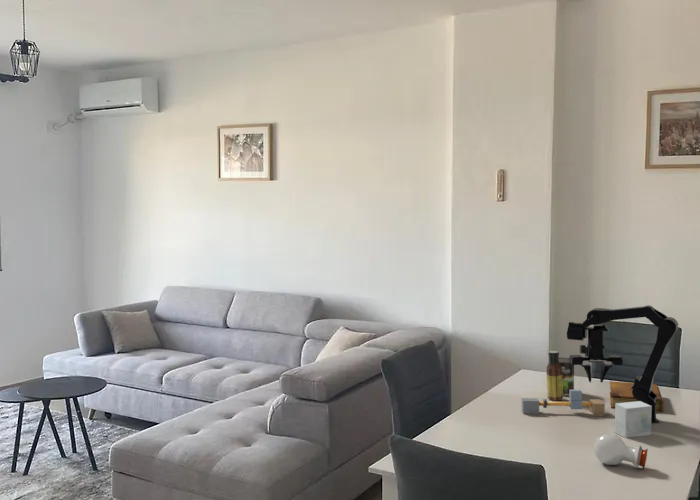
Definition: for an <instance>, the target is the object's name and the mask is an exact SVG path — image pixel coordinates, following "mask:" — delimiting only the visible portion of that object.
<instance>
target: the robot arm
mask: <svg viewBox="0 0 700 500" xmlns="http://www.w3.org/2000/svg"><path fill="white" fill-rule="evenodd" d="M639 318H646V319H647V320H648V321H650V322H651V323H652V324H653V325H654V326H656V327H657V335H656V342H655V344H654V346H653V349H652V351H651V353H650V356H649V358H648V361H647V363H646V365H645V368H644V370H643V373H642V375H641V376H640V375H638V374H637V376H636V377H635V379H634V381H633V383H634V385H633V386H632V387H631V389H633V390H632V394H633V396H634V398H635V399H637V401H641V402H643V403H646V404H648V405H650V406H652V415H651V423H660V420H659V419H658V418H657V412H656V403H655V402H656V400H657V398H658V396H657V395H656V394H655V393H654V392H653V391H652V386H653V384H654V378H655V374H656V373H657V370H658V368H659V365H660V363H661V361H662V358H663V356H664V353H665V351H666V348H667V346H668V343H669V342H670V340H671V339H672V338H673V336H674V335H675V333H676V331H677V330H678V329H679V322H678V320H677V319H676V318H674V317H671V316H668V315H666V314H664V313H663V312H661V311H659V310H657V309H656V308H654V307H653V305H650V304H649V305H645V306H644V305H643V306H633V307H625V308H615V309H611V308H606V307H605V308H600V307H595V308H593V309H591V310H589V311H588V313H586V318H585V320H584V321H583V322H574V321H568V326H567V330H566V338H567V340H571V341H572V340H573V341H581V342H582V341H585V339H587V345H586V344H580V345H579V353H580V354H581V355H580V354H570V355H569V356H568V358H569V362H570V363H571V364H572V365H574V366H581V367H583V368H584V371H585V374H586V376H587V379H588V382H589V383H592V370H591V369H592V367H591V365H590V363H600V376H599V377H600V379H599V380H600V384H601V383H603V382H604V379H605V378H606V375H607V373H608V371H609V370H610V368H613V365H614V366H623V365H624V358H623V357H622V356H621V355H618V354H609V355H608V356H607V357H605V332H608V331H610V330H611V329H610V328H609V327H608V325H607V324H606V323H608V322H612V321H617V320H628V319H639ZM601 324H602V325H601ZM592 325H593V327H592ZM590 326H591V327H590ZM582 354H583V355H584V357H583V356H582ZM612 364H613V365H612Z"/></svg>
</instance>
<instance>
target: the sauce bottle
mask: <svg viewBox="0 0 700 500" xmlns="http://www.w3.org/2000/svg"><path fill="white" fill-rule="evenodd" d="M559 353H560V352H559V351H557V350H550V351H548V364H547V366H546V389H547V394H546V395H547V399H548V400H549V401H552V402H561V401H563V399H564V395H563V378H562V367H561V365H560V363H559V359H558V357H560V356H559V355H560V354H559Z"/></svg>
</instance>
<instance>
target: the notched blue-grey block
mask: <svg viewBox="0 0 700 500" xmlns="http://www.w3.org/2000/svg"><path fill="white" fill-rule="evenodd" d="M582 393H583V392H582V390H581V389H574V390H572V389H569V395H568V396H569V398H568V402H571V406H568V408H570V410H583V406H582V402H583V401H582V399H583V398H582V397H583V396H582Z"/></svg>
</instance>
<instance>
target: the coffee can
mask: <svg viewBox="0 0 700 500" xmlns="http://www.w3.org/2000/svg"><path fill="white" fill-rule="evenodd" d="M558 359H559V363H560V365H561V367H562V378H563V396H569V389H572V390H575V365H572V364H571V363H570V362H569V357H560V356H558Z"/></svg>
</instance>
